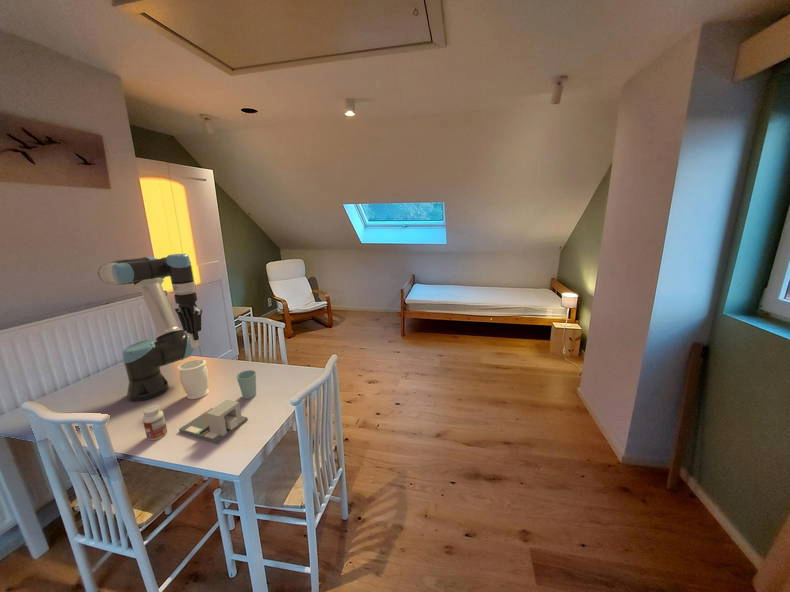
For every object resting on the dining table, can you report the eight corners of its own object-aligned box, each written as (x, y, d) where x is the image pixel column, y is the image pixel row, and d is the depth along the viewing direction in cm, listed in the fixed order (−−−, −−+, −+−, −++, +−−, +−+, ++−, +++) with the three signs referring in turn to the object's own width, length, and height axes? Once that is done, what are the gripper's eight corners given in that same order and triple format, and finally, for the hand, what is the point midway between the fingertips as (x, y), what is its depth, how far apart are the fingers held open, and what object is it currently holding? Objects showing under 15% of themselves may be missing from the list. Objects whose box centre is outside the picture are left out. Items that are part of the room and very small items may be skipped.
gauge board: (179, 431, 120) (174, 409, 118) (212, 410, 133) (208, 390, 130) (217, 443, 113) (212, 420, 111) (247, 420, 126) (244, 398, 124)
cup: (259, 397, 141) (255, 376, 139) (239, 402, 138) (236, 380, 136) (258, 389, 148) (255, 368, 145) (240, 393, 145) (236, 372, 142)
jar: (183, 403, 138) (176, 372, 134) (185, 392, 147) (179, 362, 143) (211, 396, 143) (205, 366, 139) (211, 386, 152) (206, 357, 148)
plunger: (198, 434, 116) (195, 420, 115) (221, 418, 125) (219, 404, 124) (218, 440, 112) (215, 426, 111) (241, 423, 121) (239, 409, 120)
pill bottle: (145, 436, 118) (138, 409, 115) (164, 427, 123) (158, 401, 120) (150, 443, 114) (143, 416, 112) (170, 434, 119) (163, 408, 116)
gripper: (164, 293, 129) (176, 348, 135) (187, 296, 124) (198, 352, 130) (182, 289, 135) (193, 341, 141) (204, 291, 131) (214, 345, 137)
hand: (195, 346), depth 136 cm, fingers closed
